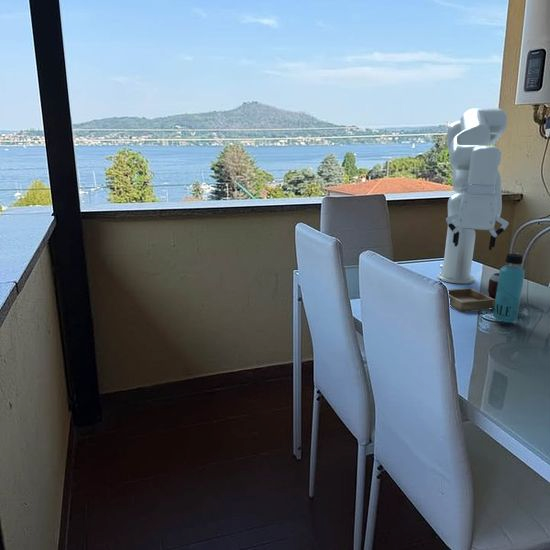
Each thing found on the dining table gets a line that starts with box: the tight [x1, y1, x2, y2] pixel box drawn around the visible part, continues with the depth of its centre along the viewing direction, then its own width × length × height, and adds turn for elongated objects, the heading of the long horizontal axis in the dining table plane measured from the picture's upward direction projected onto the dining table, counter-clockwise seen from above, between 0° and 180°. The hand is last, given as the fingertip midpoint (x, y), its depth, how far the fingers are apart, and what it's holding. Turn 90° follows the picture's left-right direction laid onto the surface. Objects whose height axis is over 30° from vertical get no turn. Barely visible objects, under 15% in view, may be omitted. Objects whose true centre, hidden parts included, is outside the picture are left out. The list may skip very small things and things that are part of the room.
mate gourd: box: [487, 252, 520, 299], centre depth 148 cm, size 8×8×15 cm
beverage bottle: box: [492, 253, 526, 323], centre depth 128 cm, size 6×7×20 cm
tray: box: [447, 287, 495, 313], centre depth 145 cm, size 12×12×3 cm
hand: (473, 247), depth 140 cm, fingers open, 9 cm apart
